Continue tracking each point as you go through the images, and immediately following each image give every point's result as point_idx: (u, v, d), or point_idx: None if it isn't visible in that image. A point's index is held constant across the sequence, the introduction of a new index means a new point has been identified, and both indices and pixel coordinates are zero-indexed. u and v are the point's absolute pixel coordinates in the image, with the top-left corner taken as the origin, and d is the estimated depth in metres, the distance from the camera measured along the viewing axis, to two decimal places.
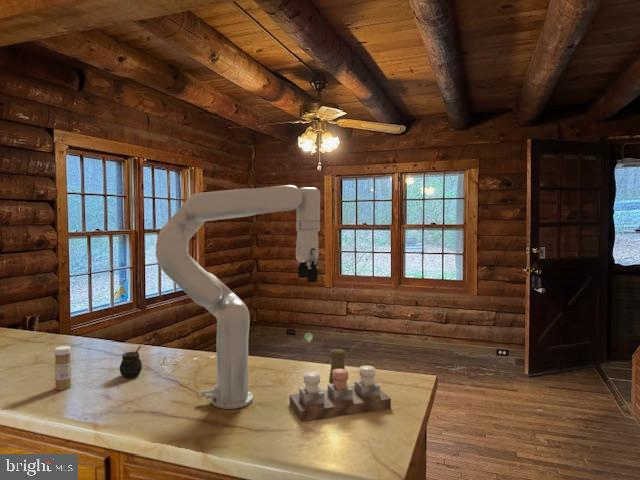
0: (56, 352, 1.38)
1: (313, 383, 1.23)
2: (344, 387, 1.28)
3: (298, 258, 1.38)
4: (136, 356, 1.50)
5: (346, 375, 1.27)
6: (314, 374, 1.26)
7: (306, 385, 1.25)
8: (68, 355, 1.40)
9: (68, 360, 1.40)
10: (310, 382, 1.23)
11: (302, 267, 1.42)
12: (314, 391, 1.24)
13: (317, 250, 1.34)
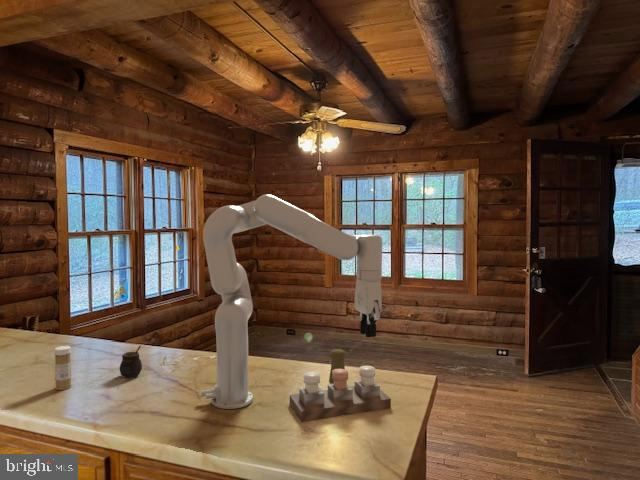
0: (56, 352, 1.38)
1: (313, 383, 1.23)
2: (344, 387, 1.28)
3: (358, 308, 1.31)
4: (136, 356, 1.50)
5: (346, 375, 1.27)
6: (314, 374, 1.26)
7: (306, 385, 1.25)
8: (68, 355, 1.40)
9: (68, 360, 1.40)
10: (310, 382, 1.23)
11: (365, 323, 1.32)
12: (314, 391, 1.24)
13: (380, 302, 1.26)
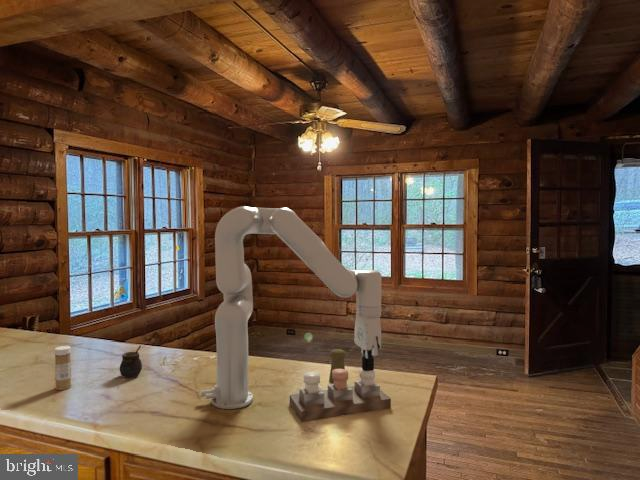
0: (56, 352, 1.38)
1: (313, 383, 1.23)
2: (344, 387, 1.28)
3: (358, 344, 1.31)
4: (136, 356, 1.50)
5: (346, 375, 1.27)
6: (314, 374, 1.26)
7: (306, 385, 1.25)
8: (68, 355, 1.40)
9: (68, 360, 1.40)
10: (310, 382, 1.23)
11: None
12: (314, 391, 1.24)
13: (380, 338, 1.27)
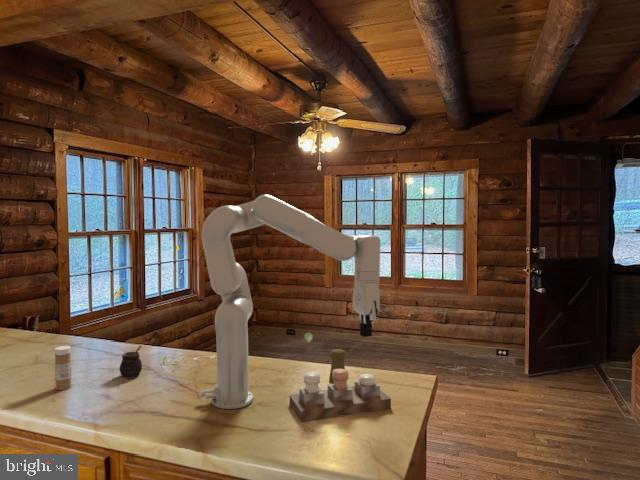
0: (56, 352, 1.38)
1: (313, 383, 1.23)
2: (344, 387, 1.28)
3: (356, 309, 1.30)
4: (136, 356, 1.50)
5: (346, 375, 1.27)
6: (314, 374, 1.26)
7: (306, 385, 1.25)
8: (68, 355, 1.40)
9: (68, 360, 1.40)
10: (310, 382, 1.23)
11: None
12: (314, 391, 1.24)
13: (378, 302, 1.26)
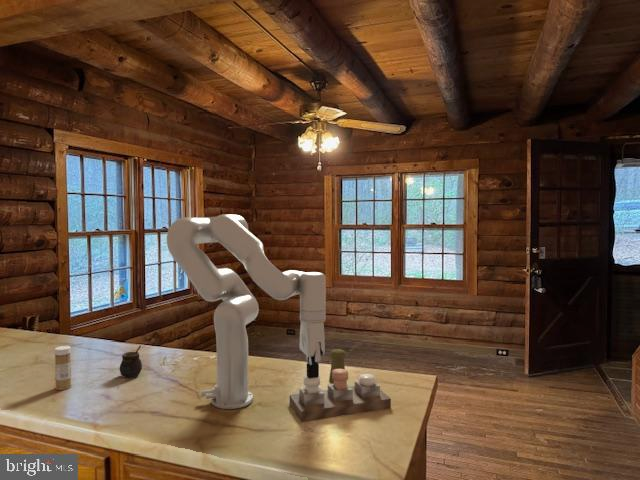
0: (56, 352, 1.38)
1: (313, 385, 1.23)
2: (344, 387, 1.28)
3: (302, 349, 1.25)
4: (136, 356, 1.50)
5: (346, 375, 1.27)
6: None
7: (306, 387, 1.26)
8: (68, 355, 1.40)
9: (68, 360, 1.40)
10: (310, 384, 1.23)
11: None
12: None
13: (323, 343, 1.21)
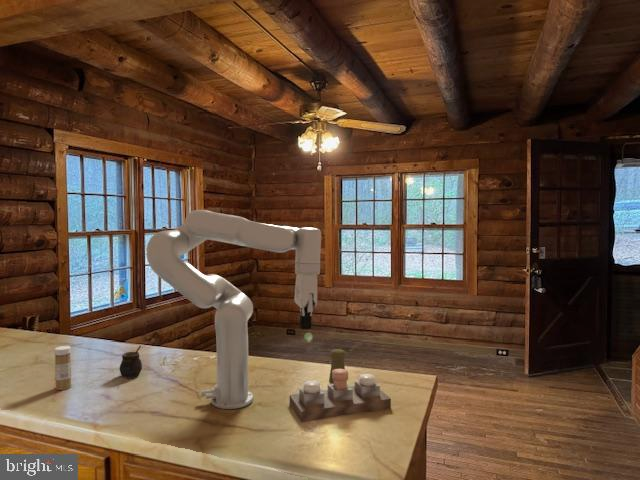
0: (56, 352, 1.38)
1: (313, 392, 1.23)
2: (344, 387, 1.28)
3: (296, 301, 1.30)
4: (136, 356, 1.50)
5: (346, 375, 1.27)
6: (314, 383, 1.26)
7: None
8: (68, 355, 1.40)
9: (68, 360, 1.40)
10: (310, 391, 1.23)
11: None
12: None
13: (316, 295, 1.26)
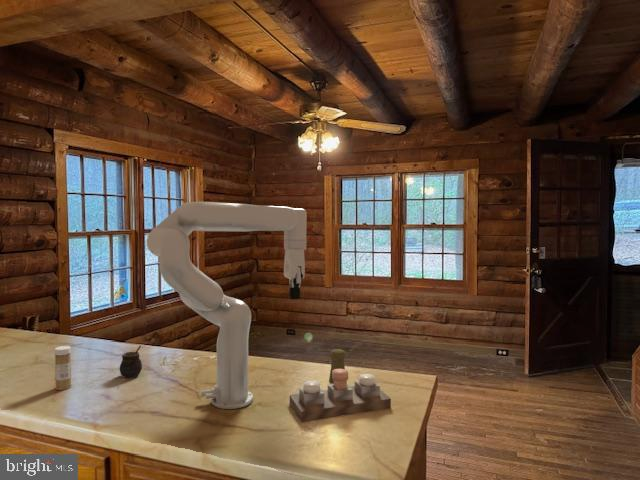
0: (56, 352, 1.38)
1: (313, 392, 1.23)
2: (344, 387, 1.28)
3: (286, 275, 1.45)
4: (136, 356, 1.50)
5: (346, 375, 1.27)
6: (314, 383, 1.26)
7: None
8: (68, 355, 1.40)
9: (68, 360, 1.40)
10: (310, 391, 1.23)
11: None
12: None
13: (303, 268, 1.41)
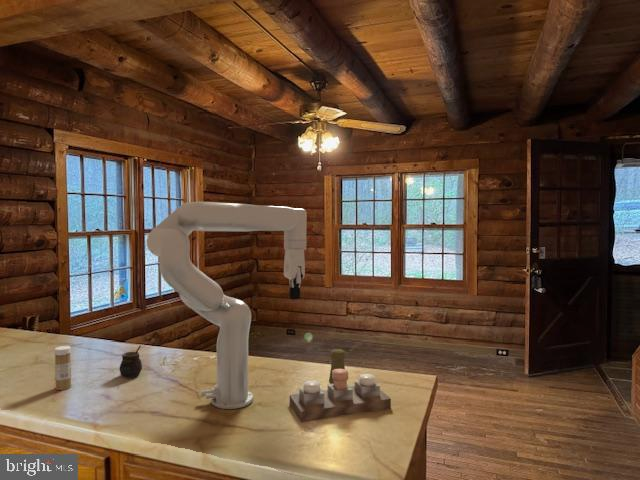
0: (56, 352, 1.38)
1: (313, 392, 1.23)
2: (344, 387, 1.28)
3: (286, 275, 1.45)
4: (136, 356, 1.50)
5: (346, 375, 1.27)
6: (314, 383, 1.26)
7: None
8: (68, 355, 1.40)
9: (68, 360, 1.40)
10: (310, 391, 1.23)
11: None
12: None
13: (303, 268, 1.41)
